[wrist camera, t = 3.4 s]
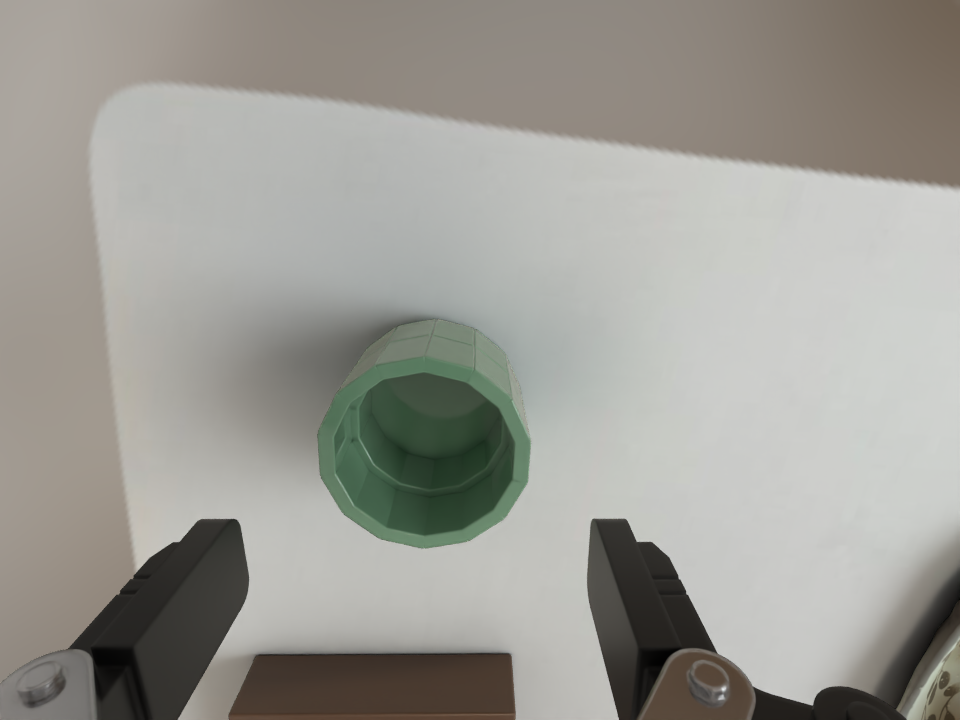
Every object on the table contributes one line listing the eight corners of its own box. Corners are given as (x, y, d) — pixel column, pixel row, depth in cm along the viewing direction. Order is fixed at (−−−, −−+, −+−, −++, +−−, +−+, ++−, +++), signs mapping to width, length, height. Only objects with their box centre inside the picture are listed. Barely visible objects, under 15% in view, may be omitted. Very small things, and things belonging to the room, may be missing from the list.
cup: (328, 428, 21) (285, 499, 16) (397, 285, 19) (371, 318, 15) (470, 493, 22) (468, 577, 17) (548, 362, 20) (570, 416, 16)
